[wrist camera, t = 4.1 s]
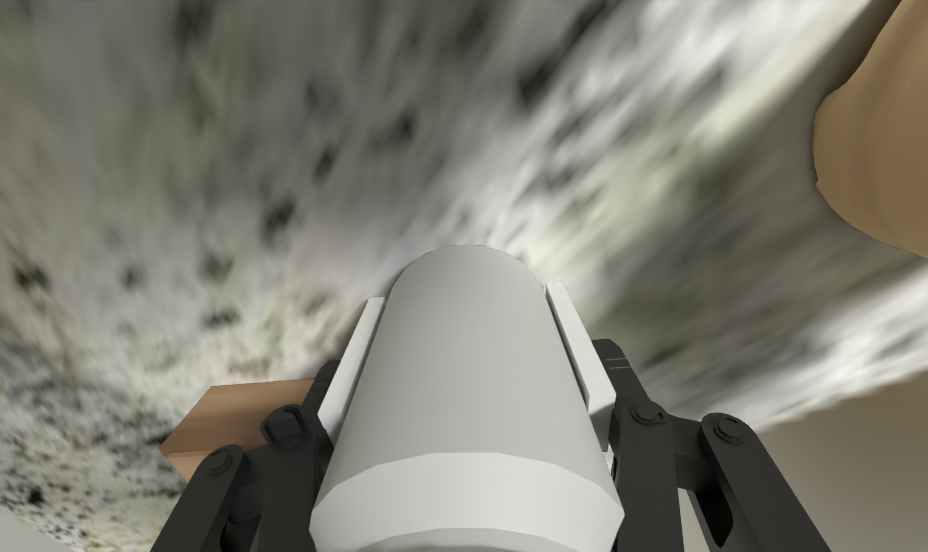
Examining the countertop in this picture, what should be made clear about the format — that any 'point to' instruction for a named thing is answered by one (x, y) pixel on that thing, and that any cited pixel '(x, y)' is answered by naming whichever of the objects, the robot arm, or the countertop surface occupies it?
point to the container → (881, 136)
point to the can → (467, 424)
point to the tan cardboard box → (228, 420)
